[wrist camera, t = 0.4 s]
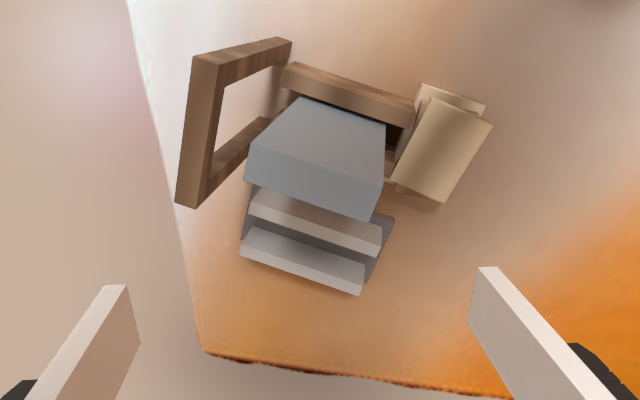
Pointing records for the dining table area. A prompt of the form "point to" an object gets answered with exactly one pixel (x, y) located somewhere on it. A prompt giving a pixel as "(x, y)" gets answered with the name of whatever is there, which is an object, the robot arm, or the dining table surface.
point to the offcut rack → (413, 116)
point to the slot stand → (312, 240)
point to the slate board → (321, 157)
